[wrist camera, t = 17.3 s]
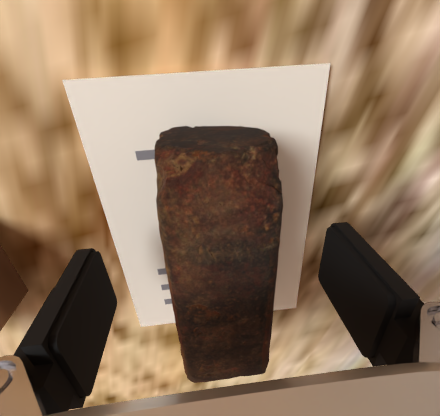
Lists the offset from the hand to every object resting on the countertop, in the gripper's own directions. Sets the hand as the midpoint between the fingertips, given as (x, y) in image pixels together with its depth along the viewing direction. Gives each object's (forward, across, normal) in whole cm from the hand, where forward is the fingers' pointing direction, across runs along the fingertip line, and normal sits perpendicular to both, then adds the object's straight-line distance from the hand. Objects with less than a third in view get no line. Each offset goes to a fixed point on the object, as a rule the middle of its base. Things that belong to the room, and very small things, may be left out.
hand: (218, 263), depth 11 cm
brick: (+3, 0, 0) cm, 3 cm away
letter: (+3, 0, 0) cm, 3 cm away
